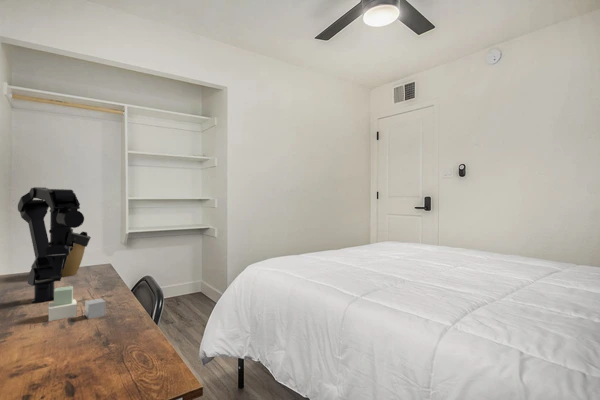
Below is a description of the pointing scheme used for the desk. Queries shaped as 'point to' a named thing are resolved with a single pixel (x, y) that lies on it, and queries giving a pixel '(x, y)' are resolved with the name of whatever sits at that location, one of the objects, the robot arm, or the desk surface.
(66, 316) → the cream block
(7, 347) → the desk surface
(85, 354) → the desk surface
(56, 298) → the sage cube
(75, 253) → the plant pot
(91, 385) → the desk surface
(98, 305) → the grey cube
